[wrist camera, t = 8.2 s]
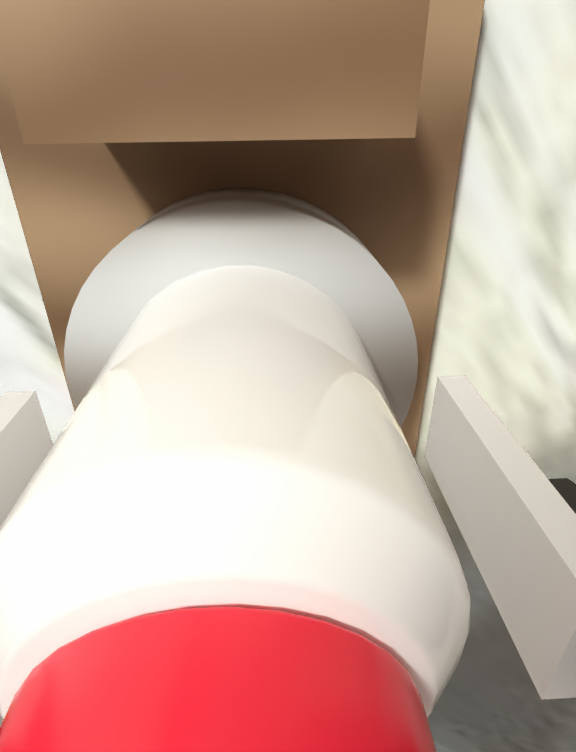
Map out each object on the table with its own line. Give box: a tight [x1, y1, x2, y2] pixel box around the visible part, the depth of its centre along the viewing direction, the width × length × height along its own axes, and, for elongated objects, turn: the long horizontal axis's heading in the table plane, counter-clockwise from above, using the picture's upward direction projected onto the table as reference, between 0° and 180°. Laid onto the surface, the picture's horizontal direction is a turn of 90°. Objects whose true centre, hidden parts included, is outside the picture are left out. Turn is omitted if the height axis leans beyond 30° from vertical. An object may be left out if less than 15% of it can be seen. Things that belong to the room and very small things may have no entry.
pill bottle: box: [0, 265, 470, 752], centre depth 10 cm, size 8×8×11 cm
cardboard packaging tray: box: [0, 0, 485, 458], centre depth 16 cm, size 22×14×6 cm, turn 1°
